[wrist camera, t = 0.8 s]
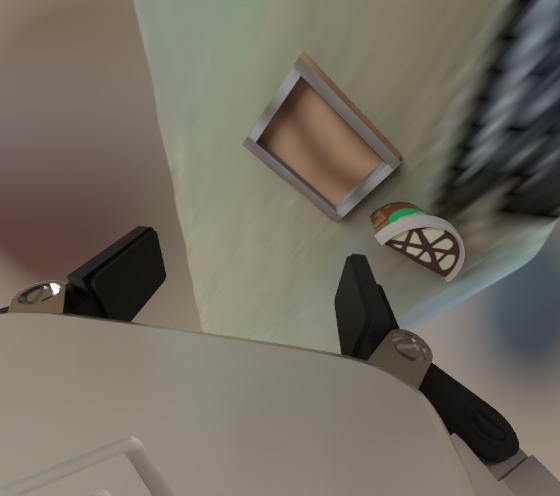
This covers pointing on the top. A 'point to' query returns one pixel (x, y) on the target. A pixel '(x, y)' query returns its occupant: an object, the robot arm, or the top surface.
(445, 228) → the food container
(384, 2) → the top surface
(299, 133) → the cradle
